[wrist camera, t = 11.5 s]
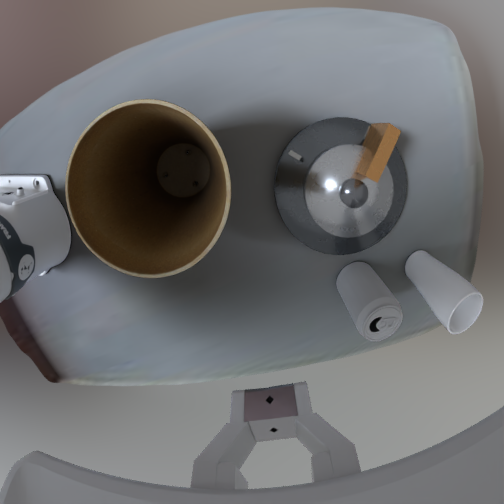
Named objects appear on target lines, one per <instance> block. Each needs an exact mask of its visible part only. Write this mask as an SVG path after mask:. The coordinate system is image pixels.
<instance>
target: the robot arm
mask: <svg viewBox="0 0 504 504" xmlns="http://www.w3.org/2000/svg"><path fill="white" fill-rule="evenodd" d="M38 181H39V183H38ZM70 244H71V231H70V225H69V221H68V217H67V215H66V212H65V210H64V208H63V206H62V204H61V203H60V201H59V200H58V198H57V197H56V196H55V194H54V192H53V189H52V186H51V183H50V180H49V178H48V176H46V175H0V303H1V302H2V301H3V300H4V299H9V298H10V297H11V296H13V295H14V294H16V292H17V291H18V290H19V289H21V288H22V287H23V286H24V285H25V284H26V283H28V282H29V281H31V280H32V279H34V278H35V277H37V276H38V275H40V276H43V275H44V274H46V273H47V272H48V270H49V269H50V268H51V267H53V266H56V265H58V264H60V263H61V262H63V261H64V259H65V258H66V256H67V255H68V252H69V249H70ZM294 437H297V438H298V439H299V440H300V442H301V443H302V444H303V445H304V446H305V447H306V448H307V449H308V450H309V451H310V452H311V453H312V454H313V456H312V457H311V462H312V463H311V464H312V483H306V484H300V485H293V486H283V487H273V488H260V489H248V482H247V481H246V479H245V478H244V476H243V475H242V474H241V472H240V471H239V469H240V468H241V466H242V465H243V463H244V462H245V460H246V459H247V457H248V456H249V454H250V453H251V451H252V449H253V448H254V446H255V445H256V442H261V441H269V440H276V439H286V438H294ZM0 504H504V406H503V407H502V408H500V409H499V410H497V411H496V412H494V413H493V414H491V415H490V416H488V417H486V418H485V419H483V420H481V421H480V422H478V423H477V424H475V425H473V426H471V427H470V428H468V429H466V430H464V431H462V432H460V433H459V434H457V435H455V436H453V437H451V438H449V439H447V440H445V441H443V442H441V443H439V444H437V445H434V446H432V447H430V448H427V449H425V450H423V451H420V452H418V453H415V454H413V455H410V456H408V457H406V458H403V459H400V460H397V461H394V462H391V463H389V464H385V465H382V466H379V467H377V468H373V469H369V470H366V471H363V472H361V469H360V465H359V461H358V457H357V453H356V449H355V446H354V444H353V443H352V442H350V441H349V440H348V439H347V438H346V437H344V436H343V435H342V434H341V433H340V432H338V431H337V430H336V429H335V428H334V427H332V426H331V425H330V424H329V423H328V422H326V421H325V420H324V419H323V418H322V417H321V416H319V415H318V414H317V413H312V407H311V402H310V397H309V392H308V387H307V383H306V381H305V382H299V383H294V385H293V383H292V384H286V385H279V386H273V387H269V388H259V389H248V390H236V391H233V392H232V397H231V414H230V423H226V425H225V426H224V427H223V428H222V430H221V431H220V432H219V433H218V434H217V435H216V437H215V438H214V439H213V440H212V441H211V442H210V444H209V445H208V446H207V447H206V448H205V449H204V450H203V451H202V453H201V454H200V455H199V456H198V457H197V458H196V459H195V460H194V465H193V472H192V481H191V488H185V487H174V486H166V485H158V484H152V483H146V482H140V481H135V480H130V479H125V478H121V477H116V476H112V475H108V474H104V473H101V472H96V471H93V470H90V469H87V468H83V467H80V466H77V465H74V464H71V463H69V462H65V461H63V460H60V459H57V458H55V457H52V456H50V455H48V454H45V453H43V452H40V451H33V452H31V453H29V454H28V455H26V456H24V457H23V458H21V459H20V460H18V461H17V462H16V463H15V464H14V465H13V467H12V468H11V470H10V472H9V473H8V476H7V478H6V480H5V482H4V484H3V487H2V489H1V492H0Z"/></svg>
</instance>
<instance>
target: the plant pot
mask: <svg viewBox="0 0 504 504" xmlns="http://www.w3.org/2000/svg"><path fill="white" fill-rule="evenodd" d="M186 151H189V153H188V154H186ZM165 175H168V176H167V177H165ZM195 181H196V182H197V183H198V184H195ZM65 192H66V202H67V207H68V211H69V214H70V218H71V220H72V223H73V225H74V227H75V229H76V231H77V233H78V235H79V237H80V238H81V240H82V241H83V243H84V244H85V245H86V246H87V247H88V249H89V250H90V251H91V252H92V253H93V254H94V255H95V256H96V257H98V258H99V259H100V260H101V261H103V262H104V263H106V264H107V265H109V266H110V267H112V268H114V269H116V270H118V271H120V272H122V273H125V274H128V275H132V276H136V277H143V278H161V277H167V276H171V275H175V274H177V273H180V272H182V271H185V270H187V269H189V268H190V267H192V266H193V265H195V264H196V263H197V262H199V261H200V260H201V259H202V258H203V257H205V256H206V254H207V253H208V252H209V251H210V250H211V249H212V247H213V246H214V245H215V243H216V242H217V240H218V239H219V237H220V235H221V233H222V231H223V229H224V226H225V224H226V221H227V218H228V214H229V209H230V203H231V179H230V173H229V168H228V164H227V161H226V158H225V155H224V153H223V151H222V148H221V146H220V144H219V143H218V141H217V139H216V138H215V136H214V135H213V133H212V132H211V131H210V130H209V129H208V127H207V126H206V125H205V124H204V123H203V122H202V121H201V120H200V119H198V118H197V117H196V116H195V115H193V114H192V113H190V112H189V111H187V110H186V109H184V108H182V107H180V106H177V105H175V104H172V103H169V102H166V101H161V100H153V99H141V100H133V101H128V102H124V103H121V104H119V105H116V106H114V107H112V108H110V109H108V110H107V111H105V112H104V113H102V114H101V115H99V116H98V117H97V118H96V119H94V120H93V121H92V122H91V123H90V124H89V126H88V127H87V128H86V129H85V130H84V132H83V133H82V134H81V136H80V138H79V139H78V141H77V143H76V144H75V146H74V149H73V151H72V153H71V156H70V159H69V163H68V167H67V172H66V182H65Z"/></svg>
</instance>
